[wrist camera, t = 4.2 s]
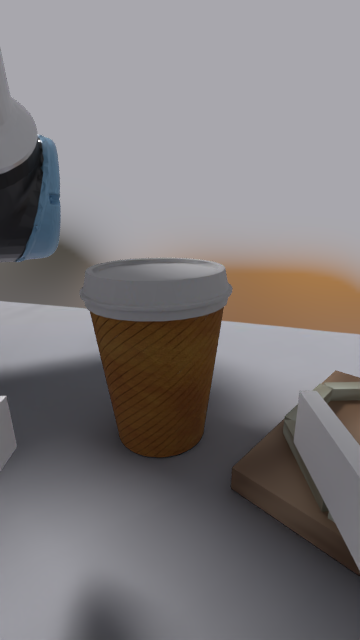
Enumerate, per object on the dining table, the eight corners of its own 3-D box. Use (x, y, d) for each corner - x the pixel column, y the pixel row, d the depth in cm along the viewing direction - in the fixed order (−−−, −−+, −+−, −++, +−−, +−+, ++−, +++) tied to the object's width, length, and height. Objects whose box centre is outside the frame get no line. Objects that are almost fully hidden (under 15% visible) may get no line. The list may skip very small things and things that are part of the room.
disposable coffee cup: (220, 393, 28) (225, 256, 24) (233, 479, 19) (244, 282, 15) (113, 393, 29) (101, 257, 25) (76, 476, 20) (49, 283, 16)
